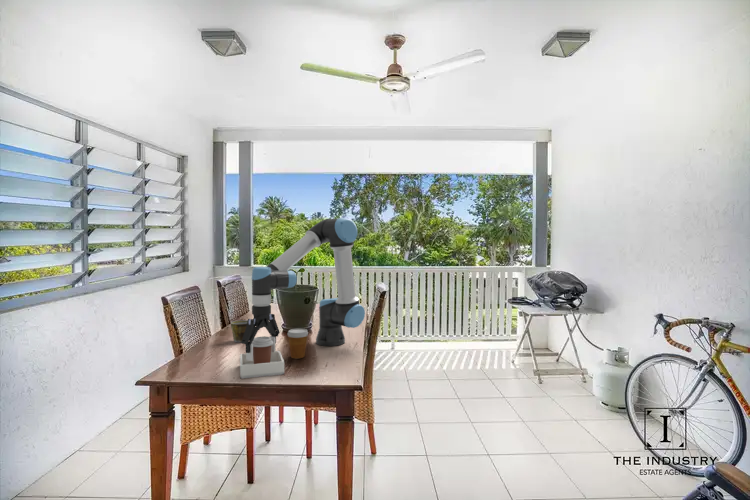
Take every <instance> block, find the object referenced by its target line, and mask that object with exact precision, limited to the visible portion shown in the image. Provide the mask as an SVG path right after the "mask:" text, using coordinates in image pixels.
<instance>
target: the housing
mask: <svg viewBox="0 0 750 500" xmlns="http://www.w3.org/2000/svg"><path fill="white" fill-rule="evenodd" d="M239 373H240V379H250V378H251V379H253V378H260V377H269V376H270V377H271V376H278V375H285V360H284V357H283V356H282V352H281V350H275V352H271V361H270V363H259V364H254V361H248V360H246V353H240V354H239Z"/></svg>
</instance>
